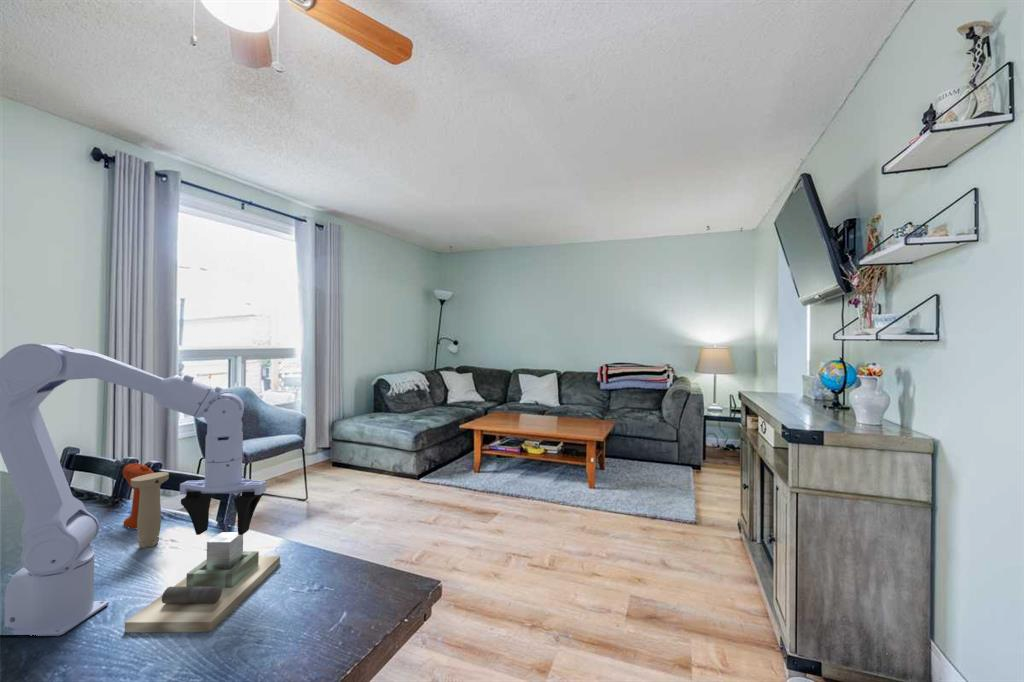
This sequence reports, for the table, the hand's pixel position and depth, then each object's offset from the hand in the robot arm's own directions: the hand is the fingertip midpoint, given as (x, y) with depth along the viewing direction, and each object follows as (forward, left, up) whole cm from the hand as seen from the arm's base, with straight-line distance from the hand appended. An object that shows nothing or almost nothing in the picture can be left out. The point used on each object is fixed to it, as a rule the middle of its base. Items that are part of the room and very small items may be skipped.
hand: (222, 532), depth 77 cm
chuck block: (+1, -3, -9) cm, 10 cm away
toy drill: (-40, +28, -10) cm, 50 cm away
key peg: (+1, 0, -8) cm, 8 cm away
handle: (-25, +15, -10) cm, 31 cm away
